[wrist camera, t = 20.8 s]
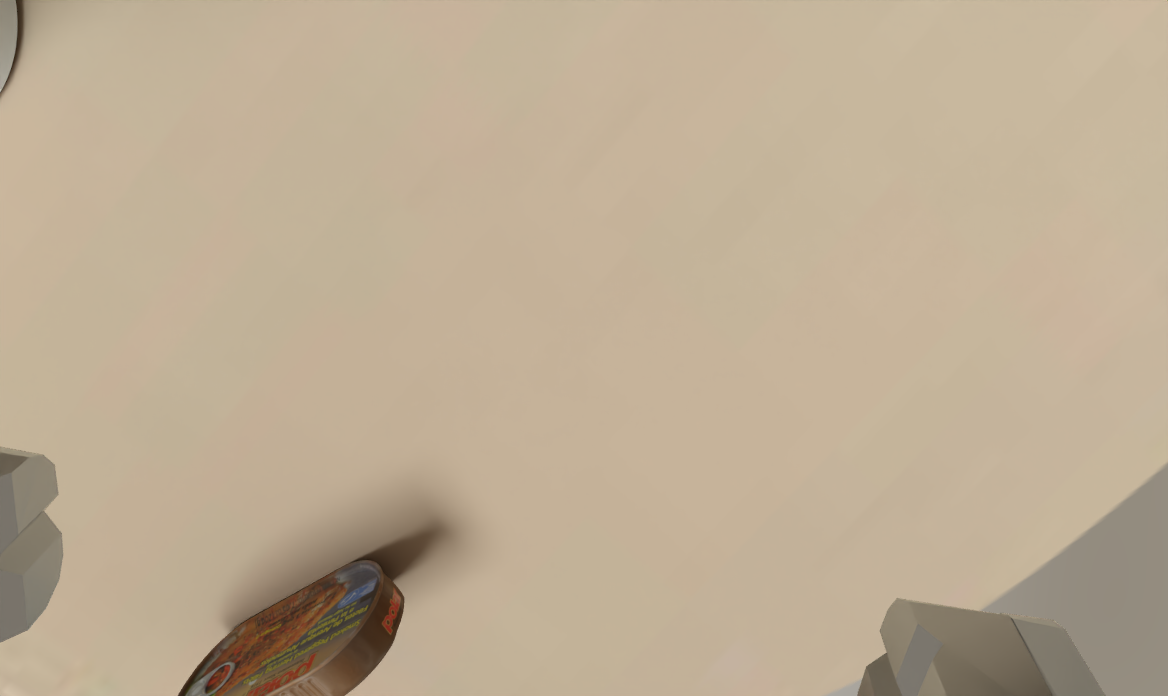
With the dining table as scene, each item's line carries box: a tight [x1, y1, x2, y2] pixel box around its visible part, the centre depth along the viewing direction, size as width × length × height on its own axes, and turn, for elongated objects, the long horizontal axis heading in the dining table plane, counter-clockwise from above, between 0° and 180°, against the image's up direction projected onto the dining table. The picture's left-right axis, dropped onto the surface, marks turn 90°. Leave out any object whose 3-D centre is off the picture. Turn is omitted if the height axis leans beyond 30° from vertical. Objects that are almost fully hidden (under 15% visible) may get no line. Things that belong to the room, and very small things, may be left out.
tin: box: [178, 560, 404, 696], centre depth 53 cm, size 15×3×8 cm, turn 123°
